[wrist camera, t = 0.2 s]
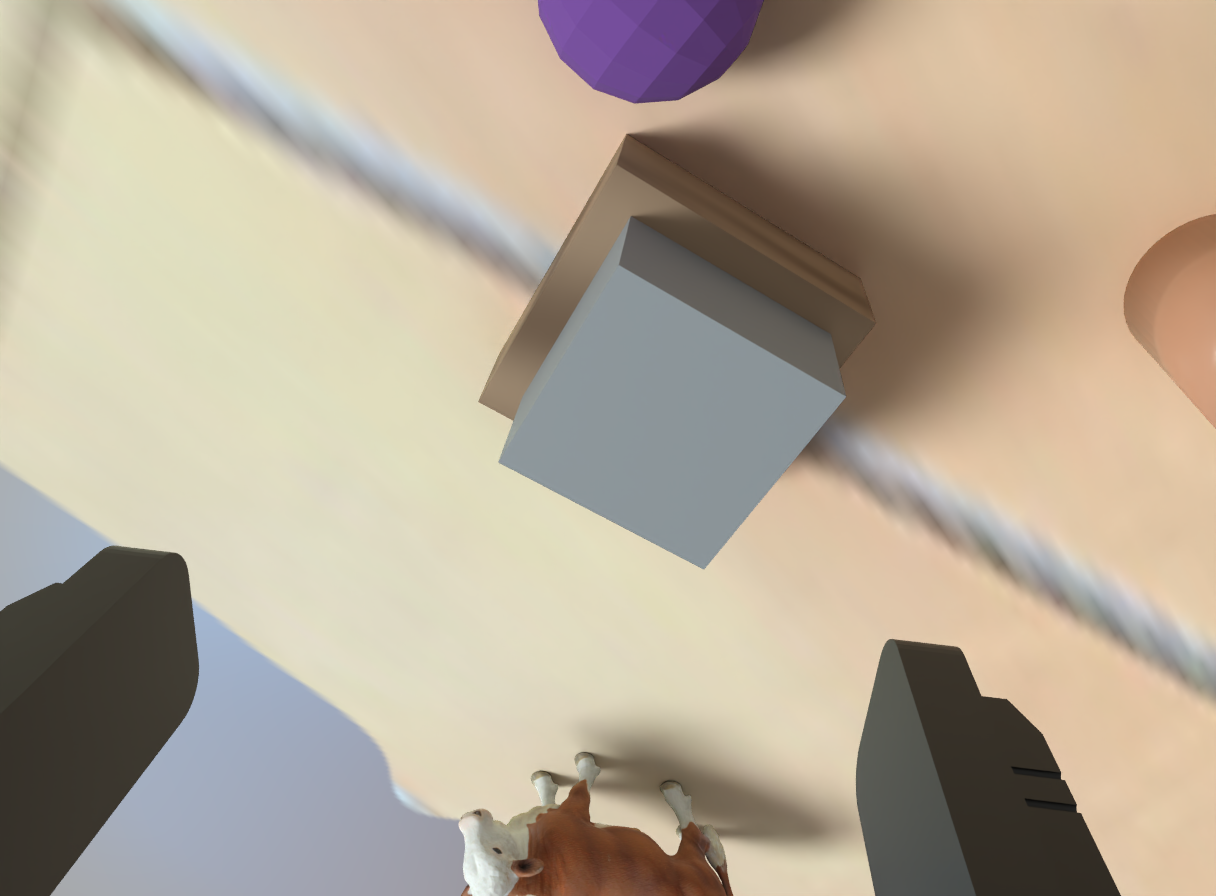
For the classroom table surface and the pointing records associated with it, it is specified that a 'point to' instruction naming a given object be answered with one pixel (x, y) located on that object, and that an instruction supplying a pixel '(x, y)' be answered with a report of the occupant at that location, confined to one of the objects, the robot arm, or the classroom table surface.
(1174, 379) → the terracotta cylinder
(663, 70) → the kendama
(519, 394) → the bottom block
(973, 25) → the classroom table surface
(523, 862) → the bull figurine
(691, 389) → the top block
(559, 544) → the classroom table surface
